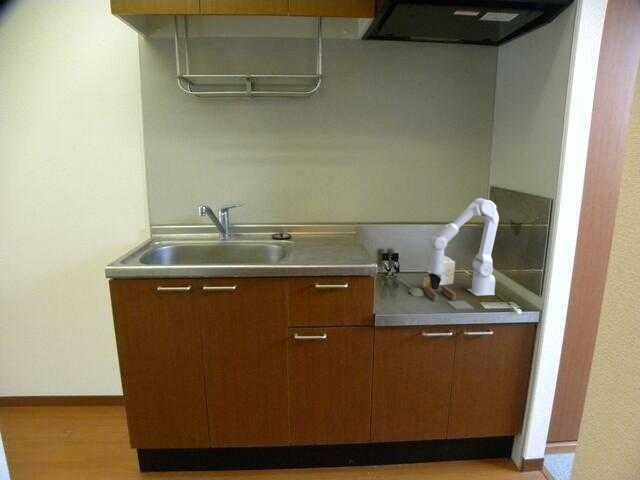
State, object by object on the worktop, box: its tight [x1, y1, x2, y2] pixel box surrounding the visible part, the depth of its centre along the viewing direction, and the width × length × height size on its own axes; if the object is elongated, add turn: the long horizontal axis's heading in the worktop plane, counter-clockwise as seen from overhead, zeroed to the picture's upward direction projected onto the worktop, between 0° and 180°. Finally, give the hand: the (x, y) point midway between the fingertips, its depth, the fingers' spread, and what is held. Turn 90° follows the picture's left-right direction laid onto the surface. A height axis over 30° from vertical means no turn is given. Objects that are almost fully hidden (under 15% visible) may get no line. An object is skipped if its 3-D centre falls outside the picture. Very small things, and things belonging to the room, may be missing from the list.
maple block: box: [423, 276, 438, 292], centre depth 189 cm, size 4×6×5 cm
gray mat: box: [446, 300, 474, 310], centre depth 169 cm, size 8×8×1 cm
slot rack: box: [423, 285, 457, 302], centre depth 179 cm, size 10×11×3 cm
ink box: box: [439, 255, 456, 286], centre depth 198 cm, size 9×8×13 cm
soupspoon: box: [398, 278, 425, 297], centre depth 189 cm, size 22×3×7 cm
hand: (434, 289), depth 184 cm, fingers closed
